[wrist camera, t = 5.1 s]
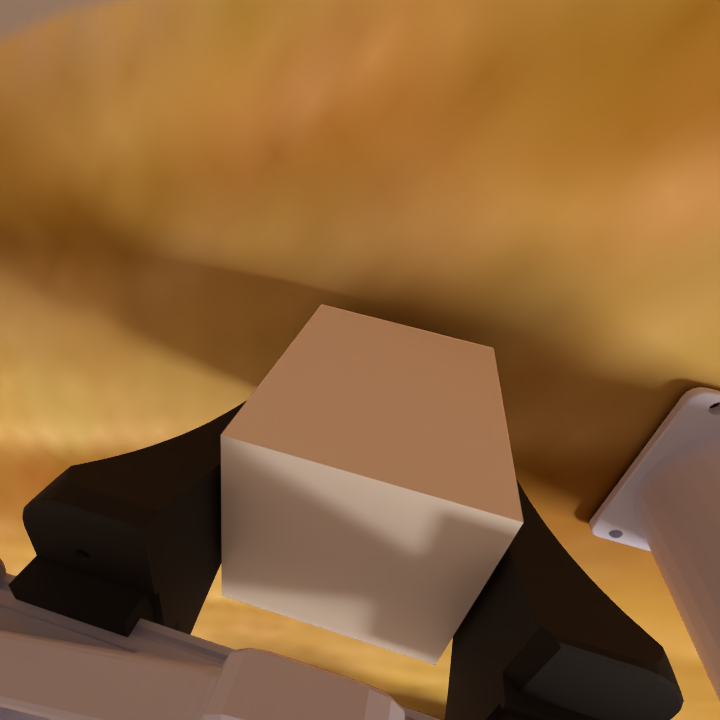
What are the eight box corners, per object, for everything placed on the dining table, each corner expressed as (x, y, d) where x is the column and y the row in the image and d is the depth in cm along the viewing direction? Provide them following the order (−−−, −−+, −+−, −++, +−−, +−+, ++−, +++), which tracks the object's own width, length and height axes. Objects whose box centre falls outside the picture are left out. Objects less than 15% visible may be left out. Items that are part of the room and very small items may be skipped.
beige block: (493, 347, 13) (523, 522, 7) (442, 472, 17) (435, 664, 11) (321, 304, 14) (220, 434, 8) (303, 432, 17) (221, 595, 11)
